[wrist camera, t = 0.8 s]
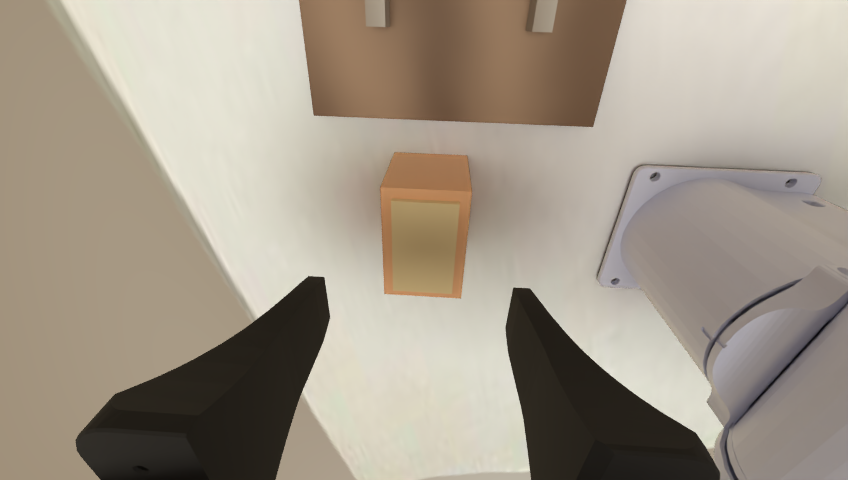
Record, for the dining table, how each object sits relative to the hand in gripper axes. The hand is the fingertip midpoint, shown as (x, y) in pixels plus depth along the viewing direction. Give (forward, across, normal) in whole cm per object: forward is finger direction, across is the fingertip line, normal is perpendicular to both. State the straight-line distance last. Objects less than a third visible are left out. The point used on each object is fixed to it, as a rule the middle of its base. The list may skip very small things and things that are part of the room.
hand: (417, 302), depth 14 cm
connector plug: (+9, 0, 0) cm, 9 cm away
